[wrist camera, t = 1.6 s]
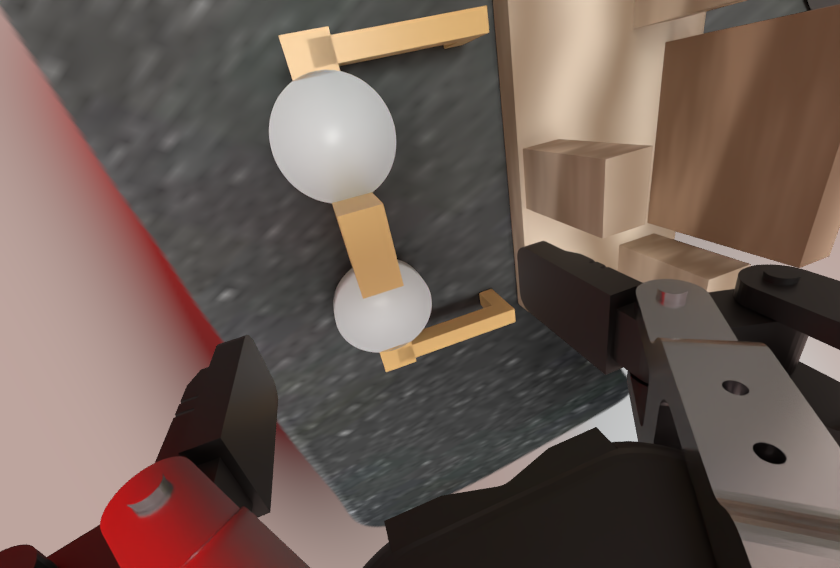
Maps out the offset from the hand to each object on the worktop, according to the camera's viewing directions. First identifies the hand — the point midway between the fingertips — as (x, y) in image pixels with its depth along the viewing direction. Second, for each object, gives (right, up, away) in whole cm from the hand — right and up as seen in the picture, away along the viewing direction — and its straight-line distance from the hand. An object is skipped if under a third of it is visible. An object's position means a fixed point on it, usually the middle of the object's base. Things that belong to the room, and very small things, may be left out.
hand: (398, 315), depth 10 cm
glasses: (-1, +5, +11) cm, 12 cm away
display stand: (+12, +10, +13) cm, 20 cm away
